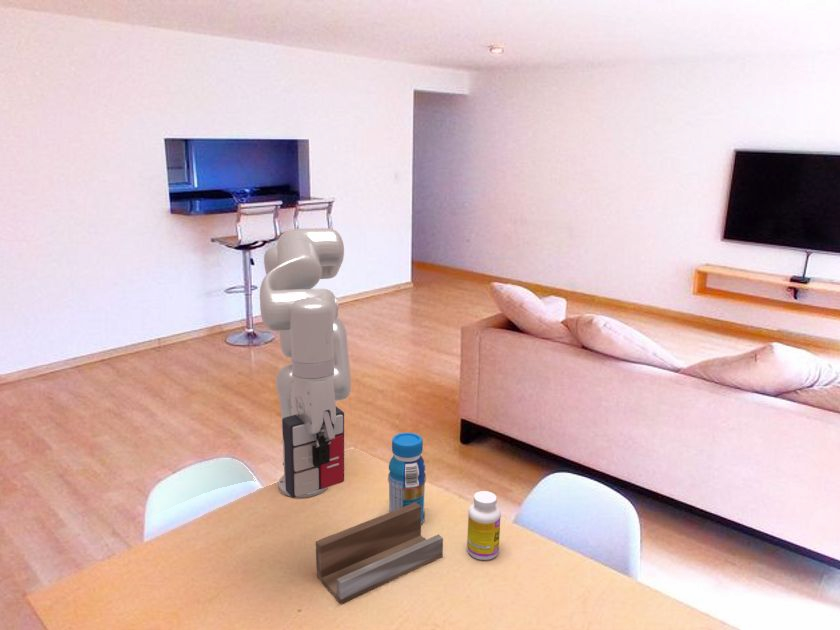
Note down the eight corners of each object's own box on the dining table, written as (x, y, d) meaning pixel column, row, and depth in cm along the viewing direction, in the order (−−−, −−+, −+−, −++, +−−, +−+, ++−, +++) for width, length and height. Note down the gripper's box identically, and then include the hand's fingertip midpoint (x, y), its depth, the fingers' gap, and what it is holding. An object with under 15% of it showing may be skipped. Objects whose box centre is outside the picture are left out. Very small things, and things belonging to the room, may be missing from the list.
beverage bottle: (381, 524, 142) (381, 442, 136) (397, 505, 149) (397, 427, 144) (416, 533, 138) (417, 450, 133) (430, 513, 146) (432, 434, 141)
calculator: (293, 501, 116) (291, 427, 112) (284, 490, 119) (281, 417, 115) (346, 483, 122) (346, 412, 118) (336, 473, 125) (335, 404, 121)
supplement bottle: (497, 563, 129) (500, 507, 126) (464, 559, 130) (466, 503, 127) (499, 544, 135) (502, 490, 132) (469, 540, 136) (471, 486, 133)
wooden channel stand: (316, 577, 124) (315, 541, 122) (415, 534, 138) (415, 502, 136) (341, 604, 117) (340, 566, 115) (442, 556, 131) (443, 522, 129)
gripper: (275, 357, 118) (279, 446, 123) (314, 385, 105) (317, 484, 110) (312, 351, 123) (314, 437, 127) (354, 376, 109) (355, 472, 114)
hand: (315, 458), depth 119 cm, fingers closed on calculator, 3 cm apart
